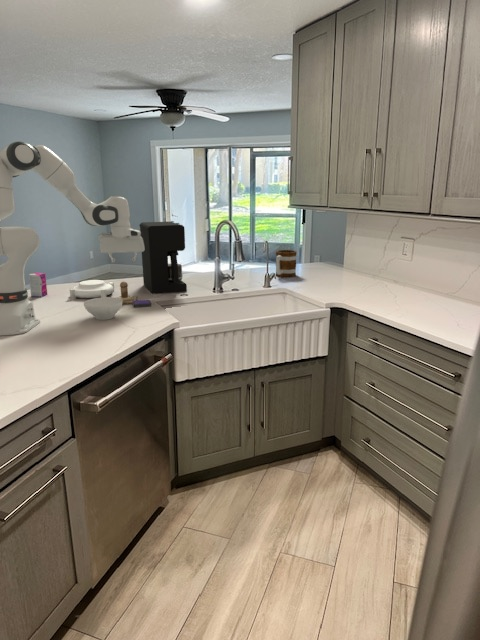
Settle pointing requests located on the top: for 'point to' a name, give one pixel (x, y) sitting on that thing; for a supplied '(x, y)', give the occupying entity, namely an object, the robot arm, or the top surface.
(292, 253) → the mug
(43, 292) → the supplement box
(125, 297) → the stamp
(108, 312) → the bowl
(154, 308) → the top surface
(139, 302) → the ink pad
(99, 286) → the round stand with pegs
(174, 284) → the coffee maker
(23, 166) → the robot arm
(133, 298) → the board
